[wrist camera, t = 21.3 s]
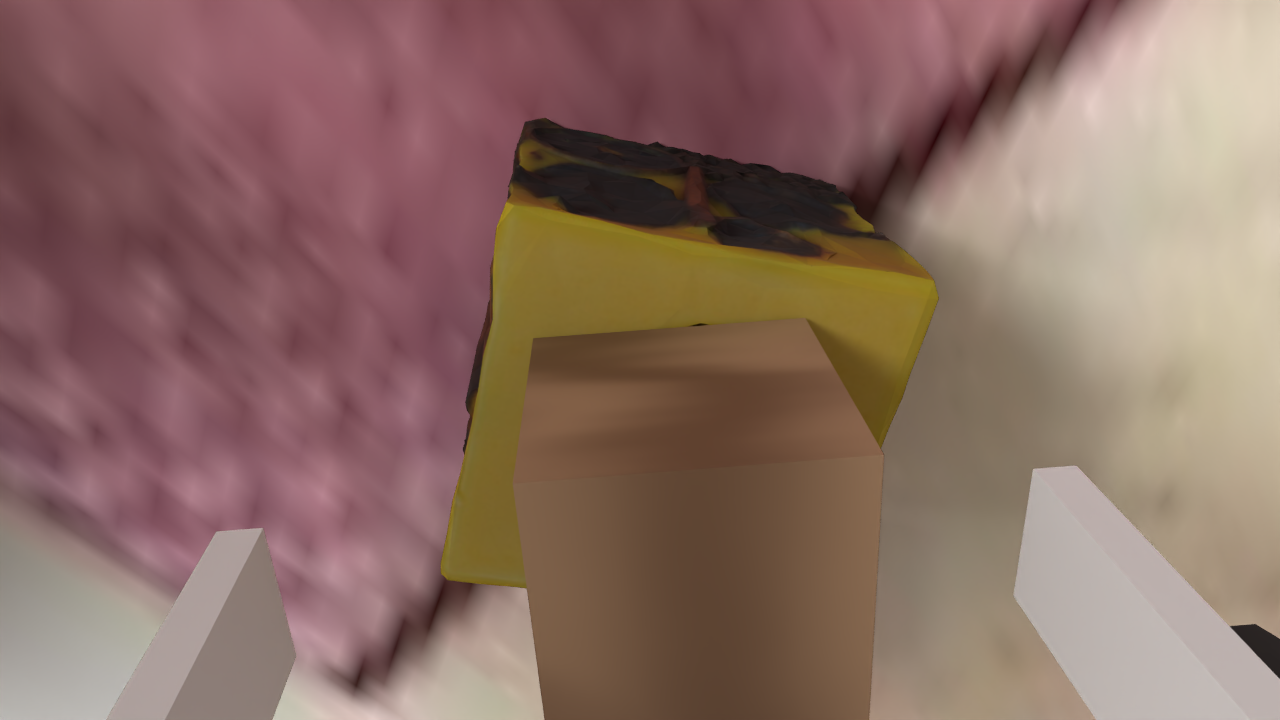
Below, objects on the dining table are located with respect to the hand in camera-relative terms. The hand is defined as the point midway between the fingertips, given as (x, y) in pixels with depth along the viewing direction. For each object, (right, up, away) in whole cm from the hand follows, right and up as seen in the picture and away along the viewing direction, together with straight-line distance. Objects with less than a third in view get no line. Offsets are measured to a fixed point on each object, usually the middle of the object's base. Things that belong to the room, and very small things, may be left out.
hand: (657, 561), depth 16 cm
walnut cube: (+1, +1, +6) cm, 6 cm away
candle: (0, +6, +15) cm, 16 cm away
